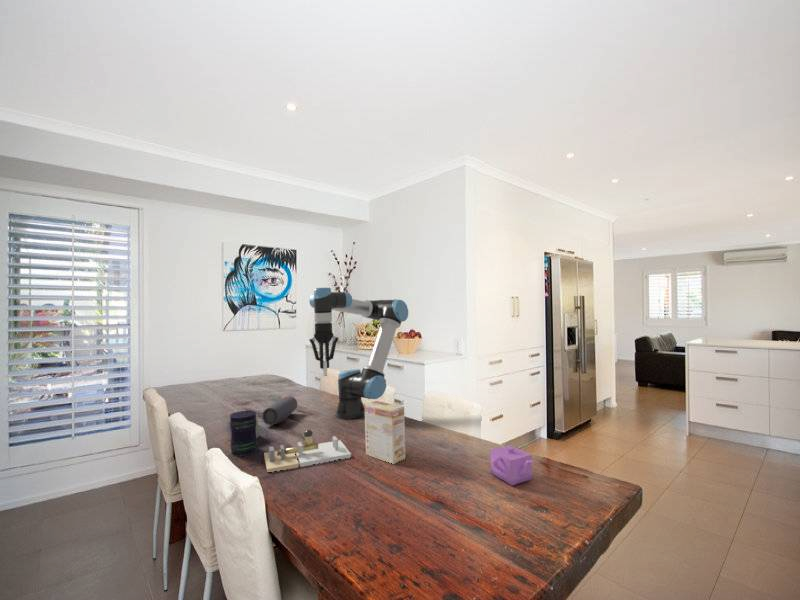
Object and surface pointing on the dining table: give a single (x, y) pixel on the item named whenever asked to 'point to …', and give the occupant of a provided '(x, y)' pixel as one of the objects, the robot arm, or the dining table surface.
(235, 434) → the dark blue barrel
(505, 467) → the purple knobbed block
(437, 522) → the dining table surface
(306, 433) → the bolt
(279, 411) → the bluetooth speaker
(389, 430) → the coffeecake box
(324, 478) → the dining table surface
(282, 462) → the door lock
